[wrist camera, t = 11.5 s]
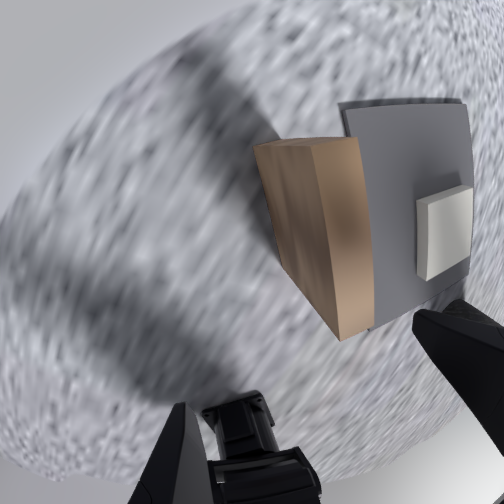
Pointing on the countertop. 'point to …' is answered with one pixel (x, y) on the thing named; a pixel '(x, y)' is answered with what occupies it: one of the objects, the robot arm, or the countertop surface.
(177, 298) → the countertop surface
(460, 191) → the tile
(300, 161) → the flat wooden plank
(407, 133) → the mat
